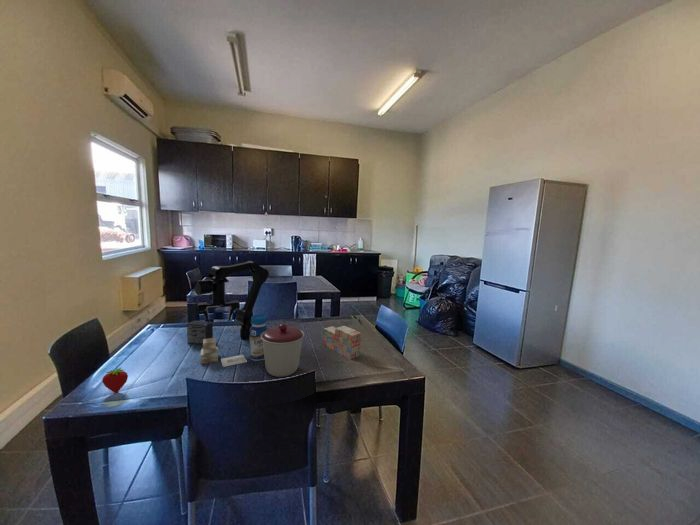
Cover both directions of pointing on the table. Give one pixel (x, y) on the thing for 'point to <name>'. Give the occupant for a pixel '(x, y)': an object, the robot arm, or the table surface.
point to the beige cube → (209, 345)
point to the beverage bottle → (257, 337)
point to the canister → (282, 349)
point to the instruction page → (233, 360)
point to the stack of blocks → (343, 340)
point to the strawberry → (115, 379)
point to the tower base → (209, 357)
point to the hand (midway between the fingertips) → (219, 322)
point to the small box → (199, 331)
